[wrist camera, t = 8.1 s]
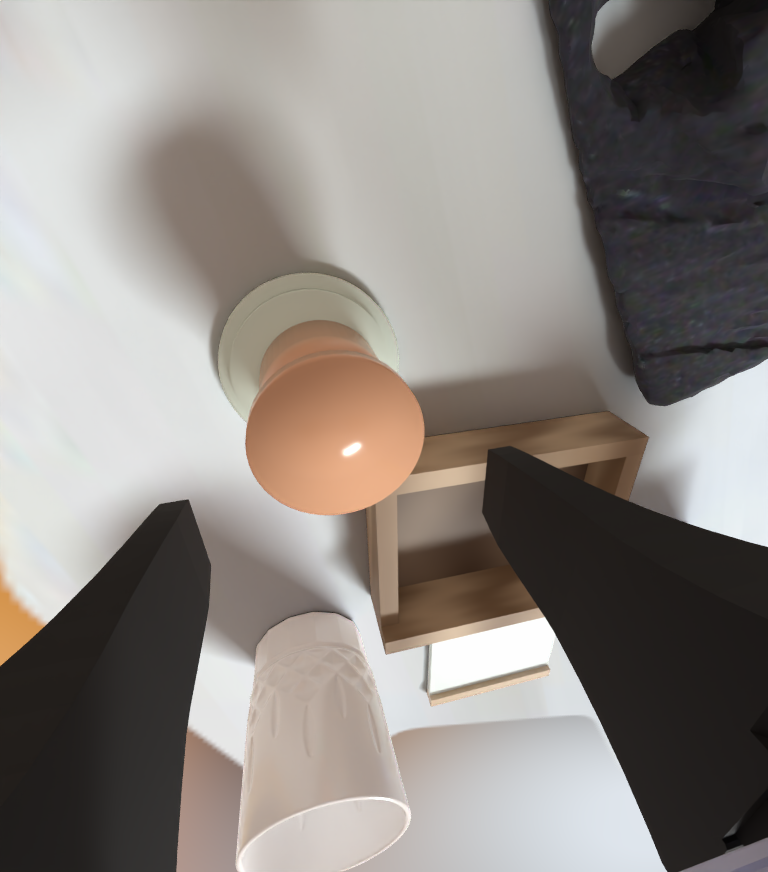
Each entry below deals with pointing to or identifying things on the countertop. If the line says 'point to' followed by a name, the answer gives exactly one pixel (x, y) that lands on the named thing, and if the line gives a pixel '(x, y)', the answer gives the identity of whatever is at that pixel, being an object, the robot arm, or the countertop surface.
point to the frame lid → (488, 660)
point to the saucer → (284, 308)
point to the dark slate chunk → (679, 190)
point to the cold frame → (475, 526)
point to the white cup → (317, 754)
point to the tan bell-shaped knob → (330, 422)
